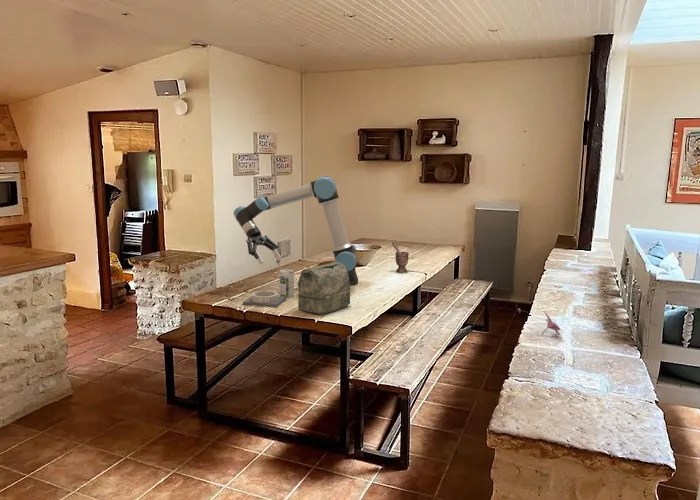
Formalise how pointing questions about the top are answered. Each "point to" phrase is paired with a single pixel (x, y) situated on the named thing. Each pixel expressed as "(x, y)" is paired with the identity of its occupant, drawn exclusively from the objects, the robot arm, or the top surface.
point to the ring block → (265, 299)
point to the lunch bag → (324, 288)
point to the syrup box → (286, 283)
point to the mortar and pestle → (401, 259)
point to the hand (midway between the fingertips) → (271, 261)
